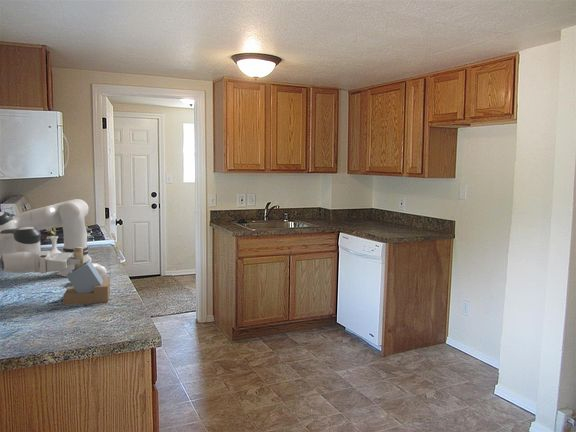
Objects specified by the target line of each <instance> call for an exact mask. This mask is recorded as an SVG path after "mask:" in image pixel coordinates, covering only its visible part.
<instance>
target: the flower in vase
mask: <svg viewBox="0 0 576 432" xmlns="http://www.w3.org/2000/svg"><path fill="white" fill-rule="evenodd" d="M52 229H53V230H54V231H53V230H52ZM45 231H46V232H48V231H50V233H51V234H52V236H49V238H50V241H51V249H50V250H49V251H50V252H51V254H55V253H63V251H60V250H59V249H58V248H57V241H58V238H59V236H58V235H57V231H56V229H55V227H51V228H47V229H45ZM56 235H57V236H56Z"/></svg>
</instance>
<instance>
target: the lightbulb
mask: <svg viewBox="0 0 576 432" xmlns="http://www.w3.org/2000/svg"><path fill="white" fill-rule="evenodd" d="M95 269H96V270H97V272H98V273H99V274H100V276H101V277H102V279H106V277H107V274H108V272H107V269H106V267H105V266H103V265H101V264H100V265H99V266H96V267H95Z"/></svg>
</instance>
